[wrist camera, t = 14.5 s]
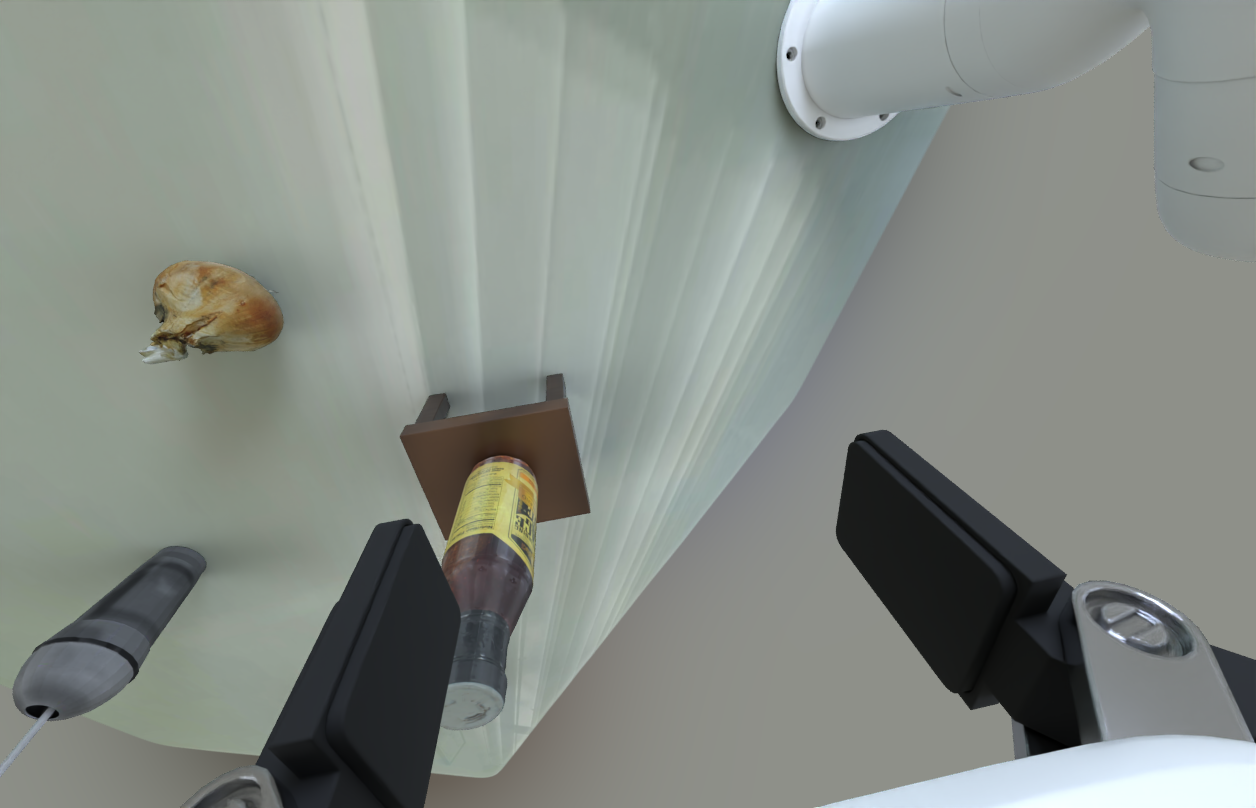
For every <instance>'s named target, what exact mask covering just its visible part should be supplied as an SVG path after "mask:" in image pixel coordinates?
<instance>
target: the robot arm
mask: <svg viewBox="0 0 1256 808" xmlns="http://www.w3.org/2000/svg"><path fill="white" fill-rule="evenodd" d="M1149 26H1150V28H1151V39H1152V70H1153V72H1154V73H1155V74H1154V78H1155V79H1154V170H1155V194H1156V204H1157V211H1158V214H1159V218H1160V220H1161V222H1162V224H1163V226H1164V228H1165V229H1166V231H1167V232H1168V233H1169V234H1170V235H1171V236H1172V237H1173V238H1174V239H1175V240H1176V241H1177V242H1179V243H1180V244H1182V245H1184V246H1185V247H1187V248H1189V249H1191V250H1194V251H1196V252H1199V253H1203V254H1205V255H1209V256H1213V257H1217V258H1223V259H1229V260H1237V261H1245V262H1256V0H791V2H790V4H789V6H788V9H787V12H786V14H785V17H784V20H783V22H782V27H781V31H780V36H779V40H778V49H777V75H778V83H779V87H780V91H781V95H782V99H783V101H784V103H785V105H786V107H787V110H788V112H789V113H790V115H791V116H792V117H793V119H794V120H795V122H796V123H797V124H798V125H799V126H800V127H802V128H803V129H804V130H805V131H806V132H807V133H809V134H811V135H813V136H815V137H817V138H820V139H825V140H829V141H845V140H852V139H858V138H860V137H863V136H866V135H869V134H871V133H873V132H874V131H876V130H878V129H879V128H881V127H883V126H884V125H885V124H887V123H888V122H889V121H890V120H891V119H892V118H894V117H895V116H896V115H897V114H898V113H899V112H903V111H910V110H918V109H925V108H932V107H940V106H947V105H954V104H961V103H969V102H976V101H983V100H990V99H997V98H1005V97H1010V96H1016V95H1022V94H1030V93H1035V92H1039V91H1043V90H1047V89H1050V88H1054V87H1056V86H1059V85H1062V84H1064V83H1067V82H1069V81H1071V80H1073V79H1075V78H1077V77H1079V76H1081V75H1083V74H1085V73H1086V72H1088V71H1090V70H1092V69H1094V68H1095V67H1097V66H1099V65H1100V64H1102V63H1103V62H1105V61H1106V60H1108V59H1109V58H1110V57H1112V56H1113V55H1114V54H1116V53H1117V52H1119V51H1120V50H1121V49H1122V48H1124V47H1125V46H1126V45H1128V44H1129V43H1130V42H1132V41H1133V40H1134V39H1135V38H1136V37H1138V36H1139V35H1140V34H1141V33H1142V32H1143V31H1145V30H1146V29H1147V28H1148V27H1149ZM786 53H788V54H789V59H787V57H786ZM879 115H880V116H879ZM816 121H817V126H816V125H815V123H816ZM836 536H837V539H838V542H839V544H840V546H841V547H842V549H843V550H844V551H845V552H846V554H847V555H848V557H849V558H850V559H851V561H852V562H853V563H854V565H855V566H856V567H857V569H858V570H859V572H860V573H861V574H862V576H863V577H864V578H865V580H866V581H867V582H868V584H869V585H870V586H871V588H872V589H873V590H874V592H875V593H876V594H877V596H878V597H879V598H880V600H881V601H882V602H883V604H884V605H885V606H886V608H887V609H888V610H889V612H890V613H891V615H892V616H893V617H894V619H895V620H896V621H897V623H898V624H899V625H900V627H901V628H902V629H903V631H904V632H905V633H906V635H907V636H908V637H909V639H910V640H911V641H912V643H913V644H914V646H915V647H916V648H917V649H918V651H919V652H920V654H921V655H922V656H923V658H924V659H925V660H926V662H927V663H928V664H929V666H930V667H931V668H932V670H933V671H934V672H935V674H936V675H937V676H938V678H939V679H940V680H941V682H942V683H943V684H944V685H945V687H946V688H947V689H949V690H950V691H951V692H953V693H958V694H959V695H960V697H961V698H962V699H963V700H964V702H965V703H966V704H967V706H968V707H969V708H970V710H973V709H977V708H981V707H986V706H990V705H995V704H998V703H1000V704H1001V705H1002V706H1003V707H1004V709H1005V710H1006V711H1007V712H1008V714H1009V715H1010V716H1011V718H1012V729H1013V741H1014V752H1015V760H1012V761H1008V762H1003V763H999V764H994V765H990V766H986V767H981V768H977V769H973V770H969V771H965V772H961V773H957V774H952V775H948V776H944V777H940V778H936V779H932V780H928V781H923V782H919V783H915V784H911V785H907V786H902V787H898V788H894V789H890V790H886V791H882V792H878V793H873V794H870V795H865V796H861V797H857V798H852V799H849V800H844V801H840V802H836V803H832V804H828V805H824V806H820V807H816V808H1256V660H1254V659H1251V658H1248V657H1245V656H1242V655H1239V654H1236V653H1233V652H1230V651H1227V650H1224V649H1221V648H1218V647H1215V646H1212V645H1209V643H1208V641H1207V639H1206V638H1205V636H1204V635H1203V633H1202V632H1201V631H1200V629H1199V628H1198V627H1197V626H1196V625H1195V624H1194V623H1193V622H1192V621H1191V620H1190V619H1189V618H1187V617H1186V616H1185V615H1184V614H1183V613H1181V612H1180V611H1179V610H1177V609H1176V608H1174V607H1173V606H1171V605H1170V604H1168V603H1166V602H1165V601H1163V600H1161V599H1159V598H1157V597H1155V596H1153V595H1151V594H1149V593H1147V592H1145V591H1142V590H1139V589H1137V588H1134V587H1130V586H1128V585H1125V584H1120V583H1115V582H1110V581H1088V582H1085V583H1082V584H1079V585H1078V586H1077V587H1076V588H1075V589H1073V587H1071V586H1070V585H1069V584H1068V583H1066V582H1065V581H1064V579H1065V577H1066V575H1067V574H1065V573H1064V572H1063V571H1062V570H1060V569H1059V568H1058V567H1057V566H1055V565H1054V564H1053V563H1052V562H1050V561H1049V560H1048V559H1046V557H1044V556H1043V555H1042V554H1041V553H1039V552H1038V551H1037V550H1036V549H1034V548H1033V547H1032V546H1030V545H1029V544H1028V543H1027V542H1026V541H1025V540H1023V539H1022V538H1021V537H1019V536H1018V535H1017V534H1016V533H1015V532H1013V531H1012V530H1011V529H1010V528H1008V527H1007V526H1006V525H1005V524H1003V523H1002V522H1001V521H1000V520H999V519H997V518H996V517H995V516H994V515H992V514H991V513H990V512H989V511H987V510H986V509H985V508H984V507H982V506H981V505H980V504H979V503H977V502H976V501H975V500H974V499H972V498H971V497H970V496H969V495H967V494H966V493H965V492H964V491H963V490H961V489H960V488H959V487H958V486H956V485H955V484H954V483H952V481H950V480H949V479H948V478H947V477H945V476H944V475H943V474H942V473H940V472H939V471H938V470H936V469H935V468H934V467H933V466H932V465H930V464H929V463H928V462H927V461H925V460H924V459H923V458H922V457H921V456H919V455H918V454H917V453H916V452H914V451H913V450H912V449H911V448H909V447H908V446H907V445H906V444H904V443H903V442H902V441H901V440H899V439H898V438H897V437H896V436H894V435H893V434H892V433H891V432H889V431H887V430H879V431H874V432H869V433H863V434H859V435H857V436H856V438H855V440H854V442H852V443H850V445H849V447H848V453H847V460H846V466H845V473H844V480H843V486H842V493H841V499H840V506H839V512H838V519H837V526H836ZM460 623H461V612H460V608H459V605H458V603H457V601H456V598H455V596H454V594H453V592H452V590H451V588H450V585H449V583H448V581H447V579H446V577H445V575H444V573H443V570H442V568H441V566H440V564H439V562H438V560H437V558H436V555H435V553H434V551H433V549H432V547H431V545H430V543H429V540H428V538H427V536H426V534H425V532H424V530H423V528H422V526H421V525H420V524H413V523H412V521H411V520H409V519H402V520H397V521H391V522H386V523H381V524H378V525H377V526H376V527H375V528H374V530H373V532H372V534H371V536H370V538H369V540H368V542H367V544H366V546H365V548H364V551H363V553H362V555H361V557H360V559H359V561H358V563H357V565H356V567H355V569H354V571H353V573H352V575H351V577H350V579H349V581H348V584H347V586H346V588H345V590H344V592H343V594H342V596H341V598H340V600H339V601H338V602H337V603H336V604H335V606H334V607H333V609H332V610H331V612H330V614H329V616H328V618H327V620H326V622H325V624H324V626H323V629H322V631H321V633H320V635H319V637H318V639H317V641H316V643H315V645H314V647H313V649H312V651H311V653H310V655H309V657H308V659H307V661H306V663H305V665H304V667H303V669H302V671H301V673H300V675H299V677H298V679H297V681H296V683H295V685H294V687H293V689H292V692H291V694H290V696H289V698H288V700H287V702H286V704H285V706H284V708H283V710H282V712H281V714H280V716H279V718H278V720H277V722H276V724H275V726H274V728H273V730H272V732H271V734H270V736H269V738H268V740H267V742H266V744H265V746H264V748H263V750H262V752H261V755H260V757H259V759H258V761H257V763H256V765H252V766H244V767H239V768H236V769H234V770H232V771H229V772H227V773H224V774H222V775H220V776H219V777H217V778H216V779H214V780H213V781H211V782H210V783H208V784H207V785H205V786H204V787H202V788H201V789H200V790H199V791H197V792H196V793H195V794H194V795H193V796H192V797H191V798H190V799H188V800H187V801H186V802H185V803H184V804H183V805H182V806H181V807H180V808H423V807H424V804H425V799H426V794H427V789H428V784H429V779H430V774H431V769H432V764H433V759H434V754H435V749H436V744H437V739H438V734H439V729H440V724H441V719H442V714H443V709H444V704H445V699H446V694H447V689H448V684H449V679H450V674H451V669H452V664H453V659H454V654H455V649H456V644H457V639H458V634H459V629H460Z"/></svg>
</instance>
